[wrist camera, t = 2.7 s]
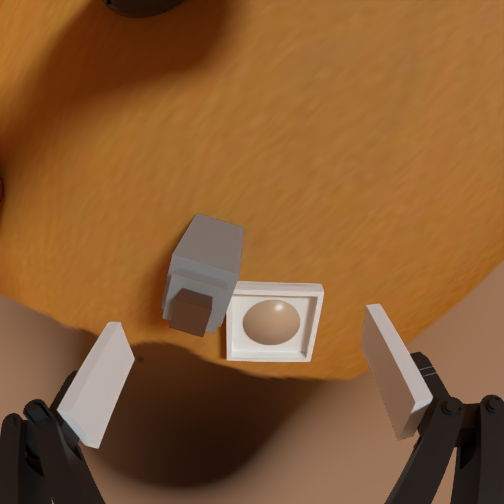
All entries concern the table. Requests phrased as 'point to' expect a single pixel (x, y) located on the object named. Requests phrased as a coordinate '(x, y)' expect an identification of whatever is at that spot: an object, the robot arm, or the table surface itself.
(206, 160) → the table surface
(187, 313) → the perfume bottle
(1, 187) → the apple
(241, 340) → the tray
